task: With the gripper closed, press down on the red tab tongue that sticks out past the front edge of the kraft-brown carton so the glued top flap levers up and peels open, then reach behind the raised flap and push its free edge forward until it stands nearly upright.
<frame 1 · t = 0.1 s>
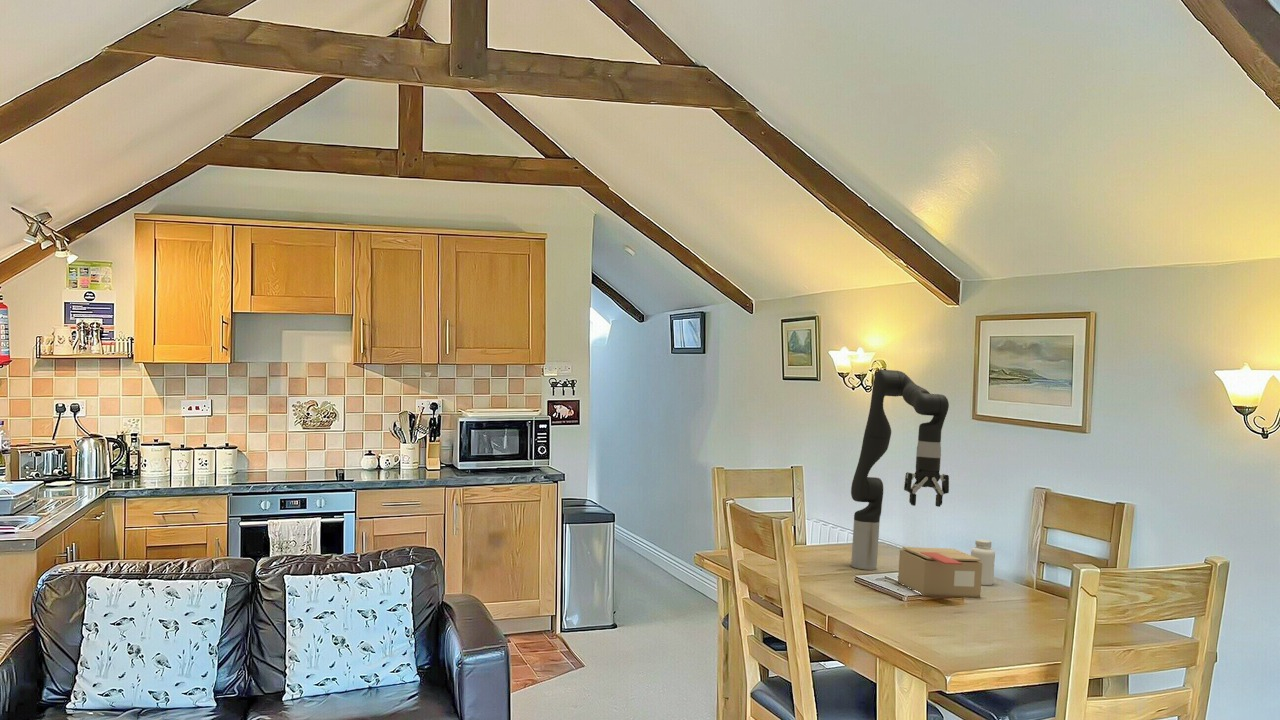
hand: (925, 505, 312), 29 cm above the table, fingers open, 8 cm apart
pill bottle: (981, 583, 341), on the table
flap: (954, 558, 315), point 12 cm above the table, hinge at 0.0°
carton: (938, 590, 324), on the table
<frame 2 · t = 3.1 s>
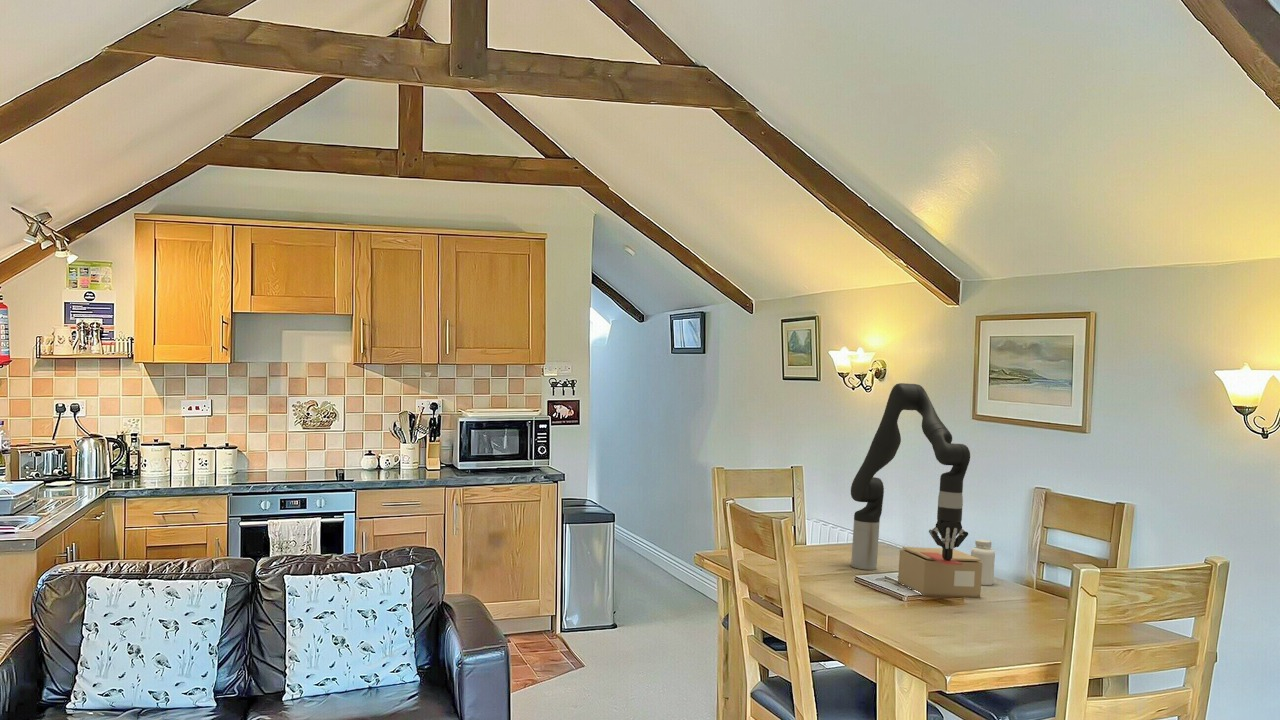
hand: (946, 560, 310), 13 cm above the table, fingers closed
flap: (954, 558, 315), point 12 cm above the table, hinge at 0.3°, touching gripper
everything else where it was.
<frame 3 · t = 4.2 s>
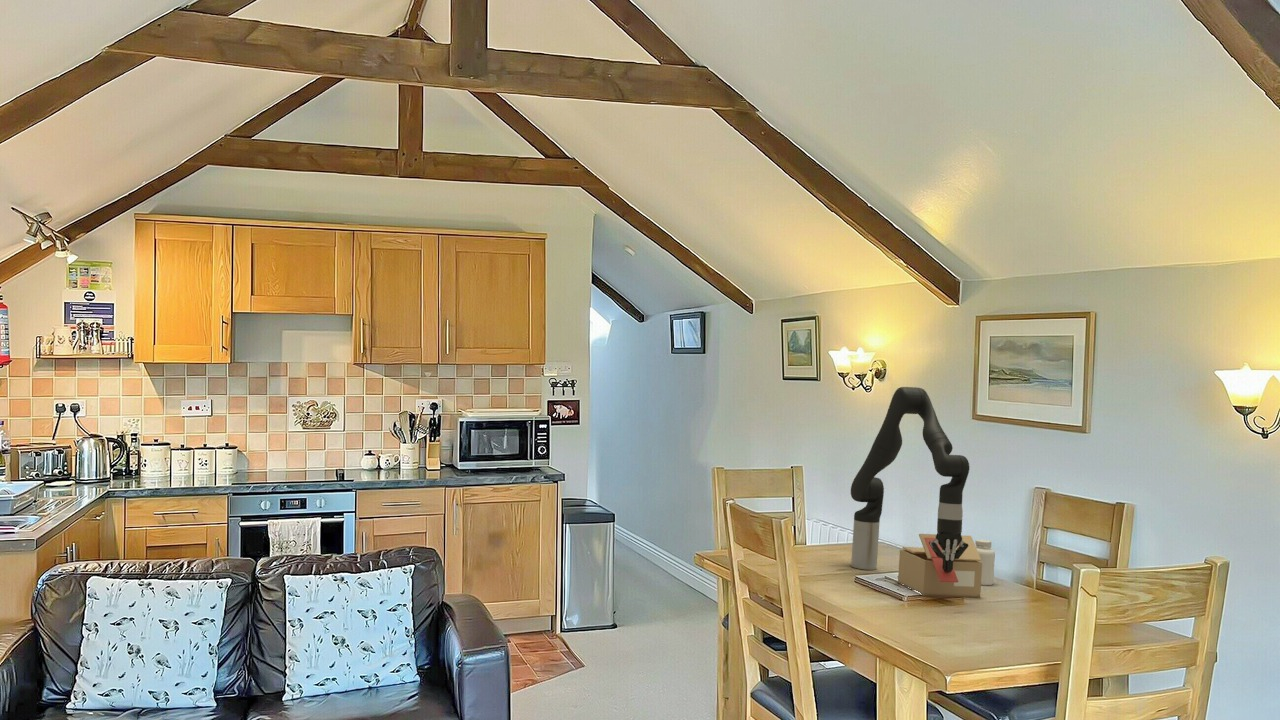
hand: (947, 571, 309), 9 cm above the table, fingers closed
flap: (954, 558, 315), point 13 cm above the table, hinge at 41.8°, touching gripper
everything else where it was.
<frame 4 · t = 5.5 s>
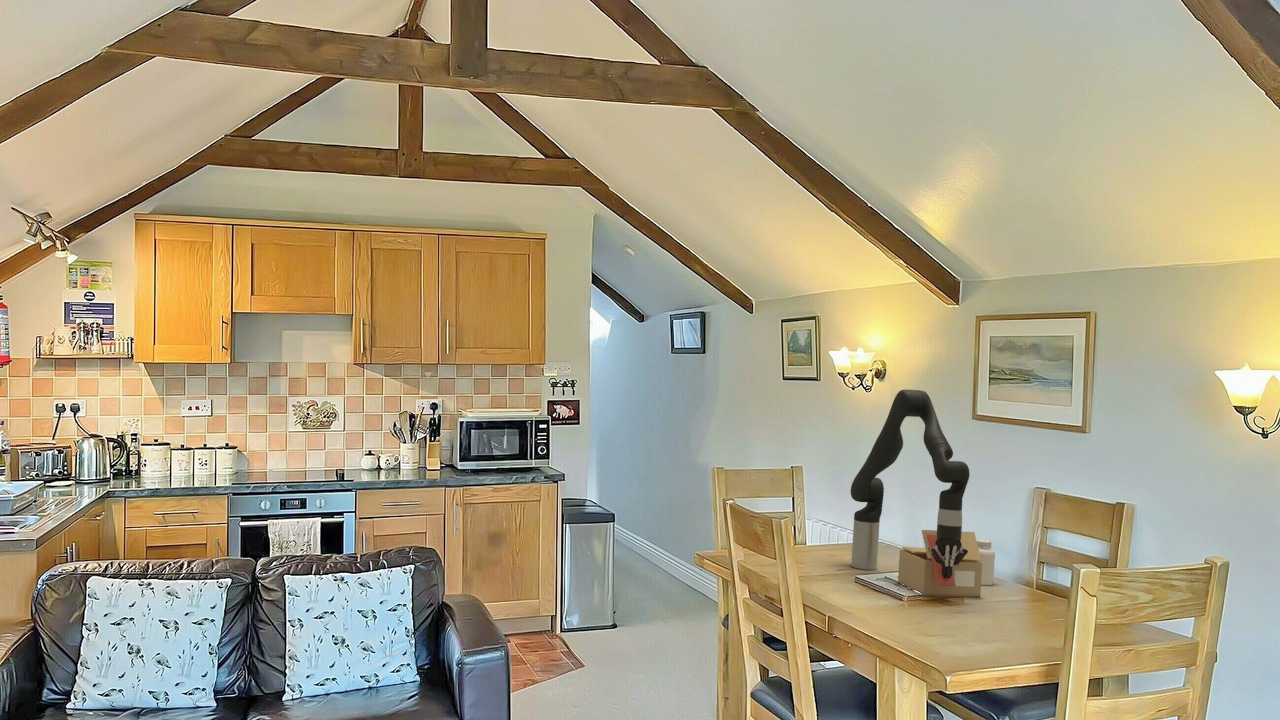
hand: (946, 577, 309), 7 cm above the table, fingers closed
flap: (954, 558, 315), point 13 cm above the table, hinge at 56.2°
everything else where it was.
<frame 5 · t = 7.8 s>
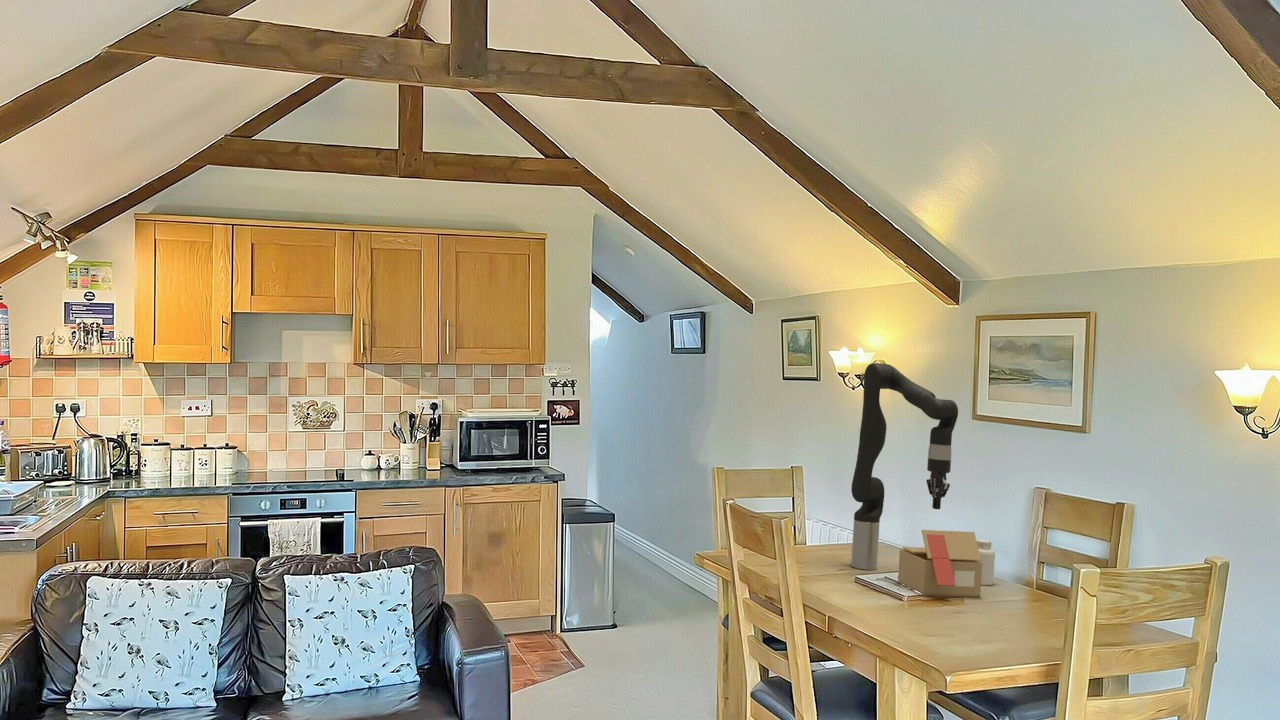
hand: (936, 508, 329), 27 cm above the table, fingers closed
nothing on the table moved.
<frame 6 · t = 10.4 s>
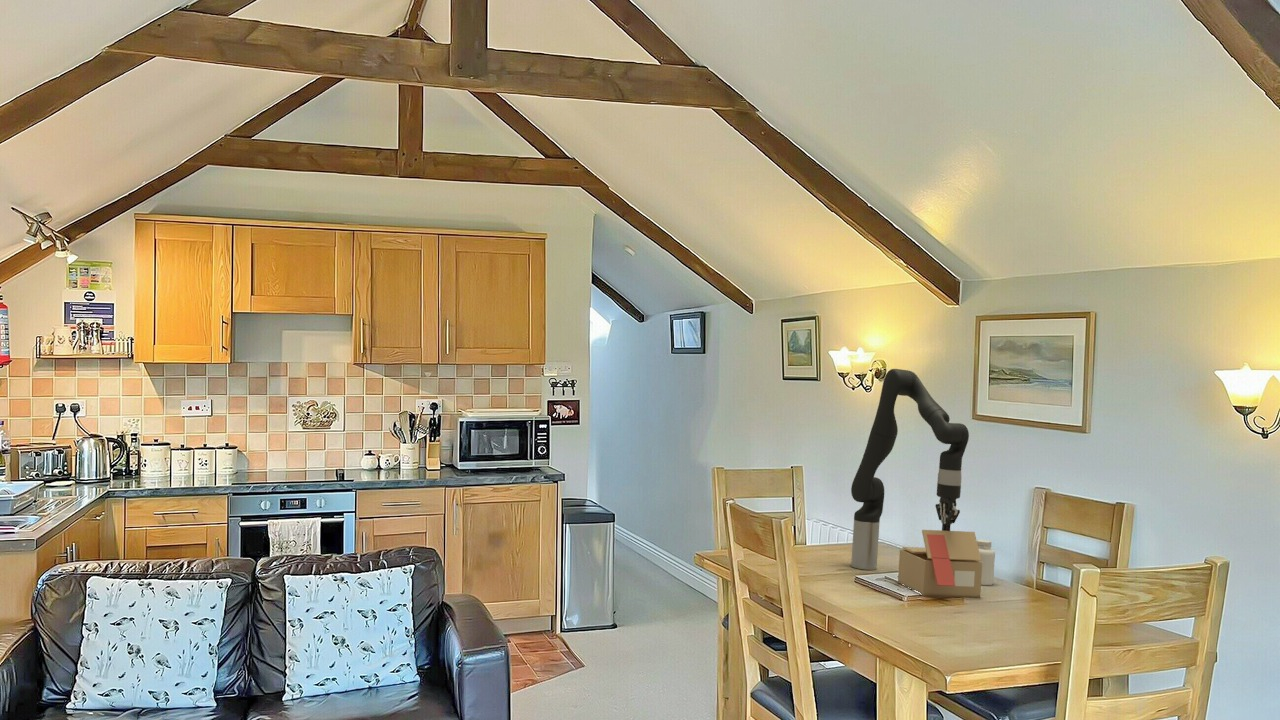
hand: (945, 534, 322), 19 cm above the table, fingers closed
flap: (954, 558, 315), point 13 cm above the table, hinge at 57.1°, touching gripper
everything else where it was.
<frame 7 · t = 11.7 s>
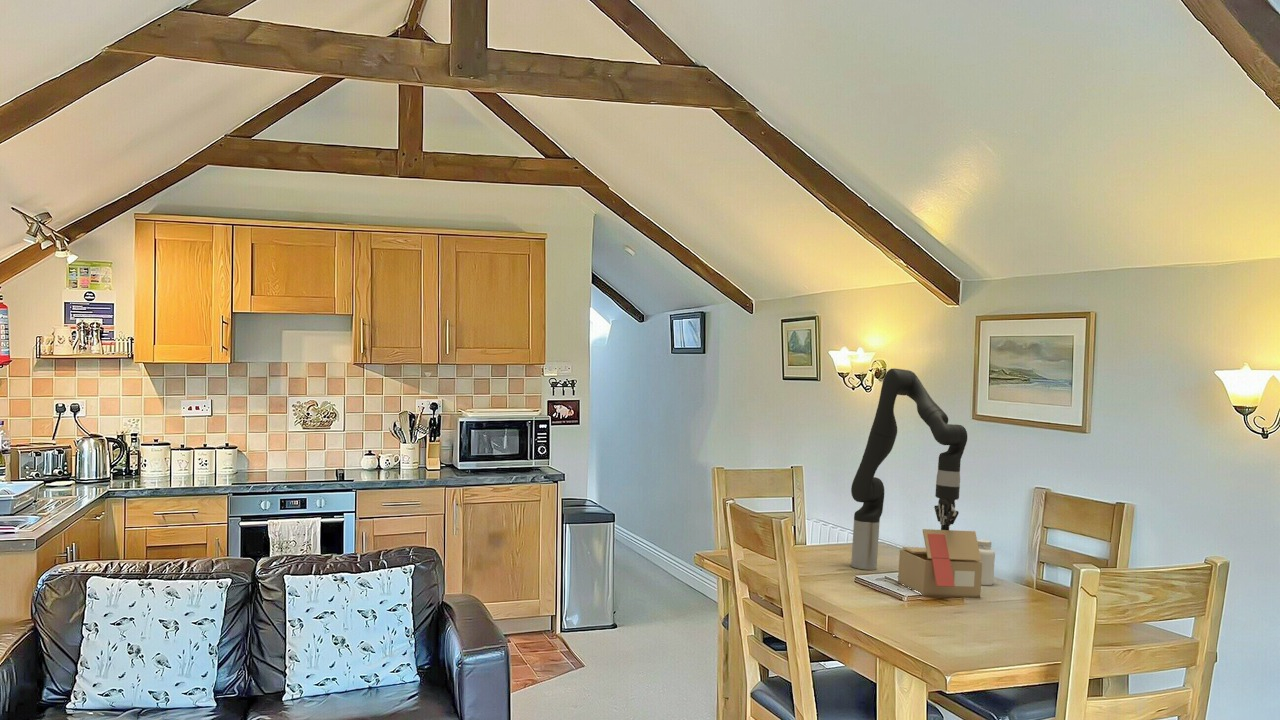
hand: (944, 536, 322), 18 cm above the table, fingers closed
flap: (954, 558, 315), point 13 cm above the table, hinge at 60.2°
everything else where it was.
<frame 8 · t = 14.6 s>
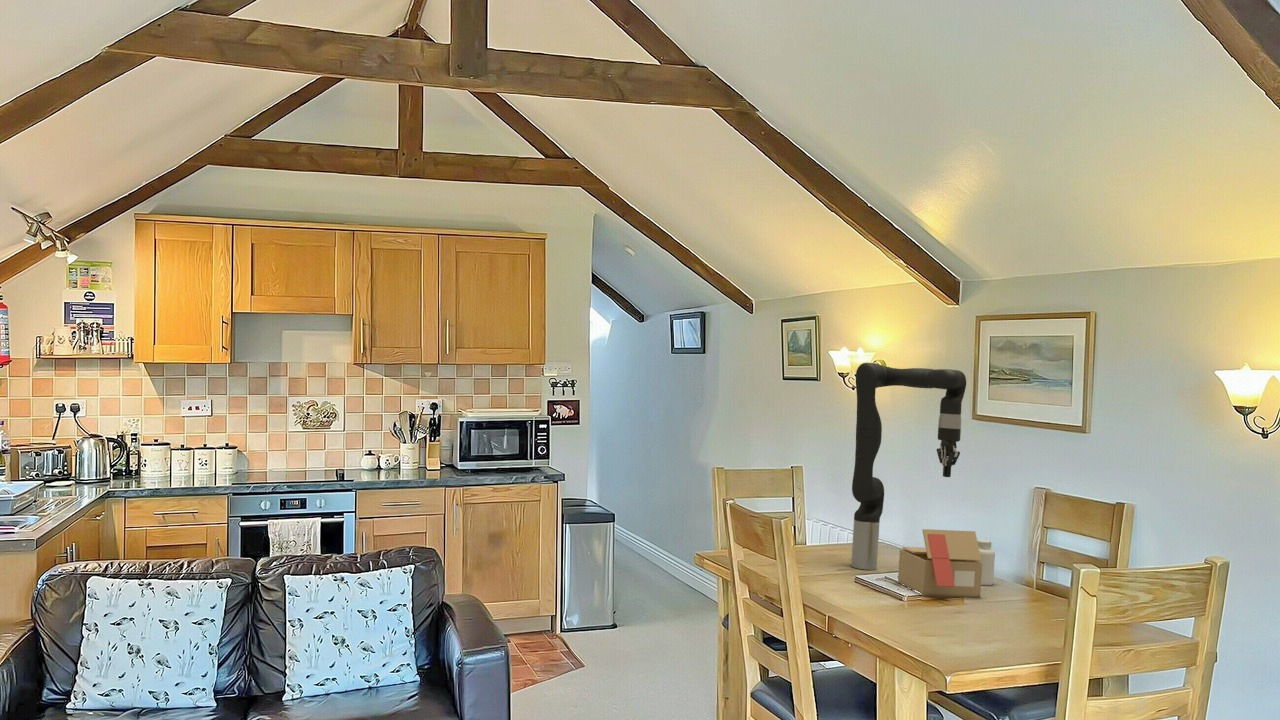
hand: (946, 476, 336), 37 cm above the table, fingers closed
nothing on the table moved.
at the end: flap at +60° (first picture: +0°); flap touching nothing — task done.
